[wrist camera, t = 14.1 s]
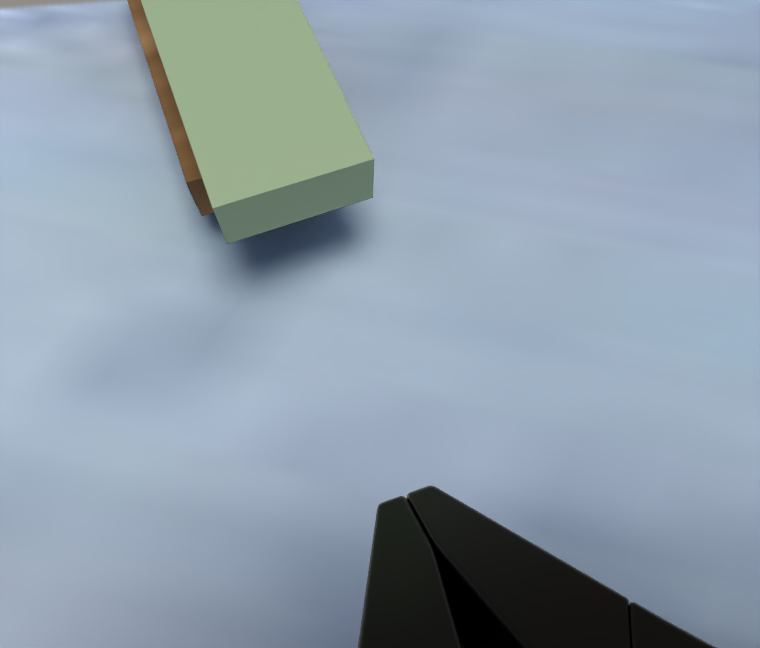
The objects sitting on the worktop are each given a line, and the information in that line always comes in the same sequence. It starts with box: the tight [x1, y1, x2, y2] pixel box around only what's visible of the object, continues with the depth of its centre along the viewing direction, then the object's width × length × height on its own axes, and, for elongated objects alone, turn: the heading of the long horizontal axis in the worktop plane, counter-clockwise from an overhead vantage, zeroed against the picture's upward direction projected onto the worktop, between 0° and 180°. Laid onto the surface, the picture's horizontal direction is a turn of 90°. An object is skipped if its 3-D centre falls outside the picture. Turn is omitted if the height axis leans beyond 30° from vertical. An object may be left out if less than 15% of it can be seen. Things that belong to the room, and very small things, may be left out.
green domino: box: [141, 0, 374, 244], centre depth 20 cm, size 2×5×13 cm
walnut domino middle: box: [127, 0, 214, 216], centre depth 23 cm, size 2×5×13 cm
